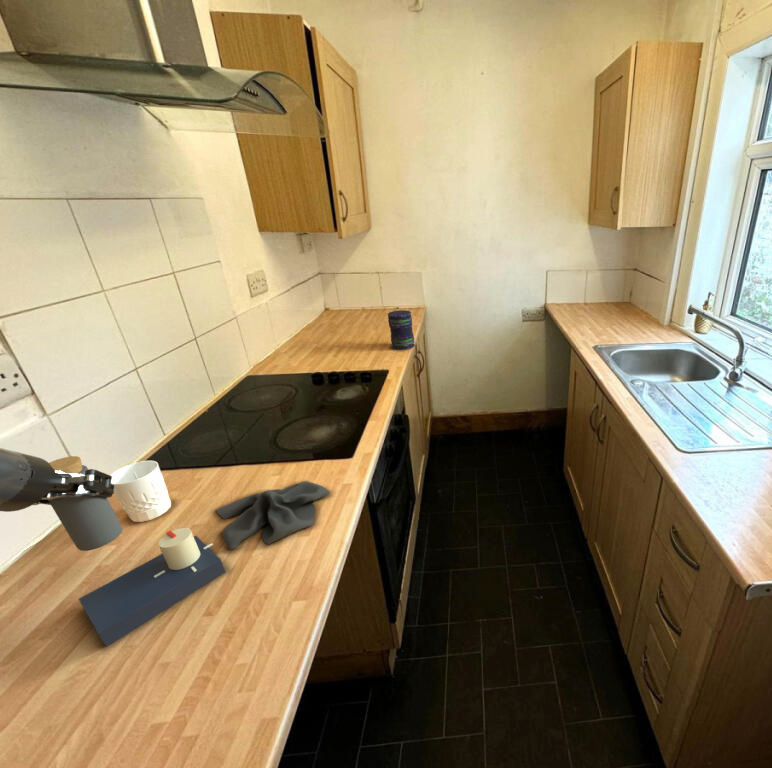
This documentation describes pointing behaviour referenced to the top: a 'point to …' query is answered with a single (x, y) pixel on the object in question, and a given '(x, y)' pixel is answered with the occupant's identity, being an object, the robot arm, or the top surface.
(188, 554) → the knob
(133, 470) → the white cup
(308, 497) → the cloth
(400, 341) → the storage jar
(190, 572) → the panel
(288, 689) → the top surface
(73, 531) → the bottle
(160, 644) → the top surface
